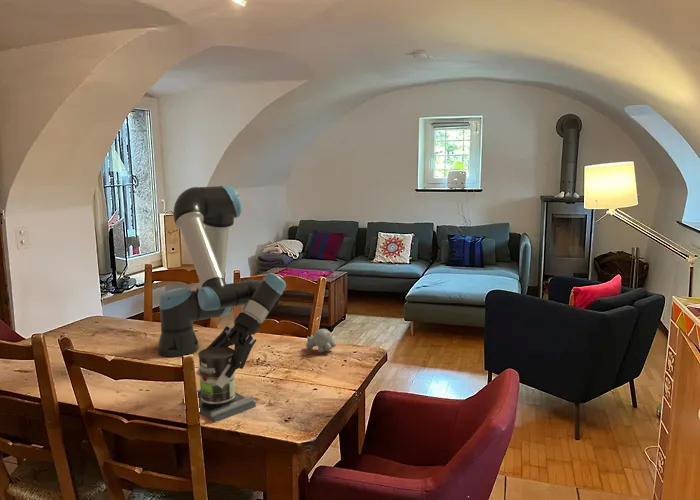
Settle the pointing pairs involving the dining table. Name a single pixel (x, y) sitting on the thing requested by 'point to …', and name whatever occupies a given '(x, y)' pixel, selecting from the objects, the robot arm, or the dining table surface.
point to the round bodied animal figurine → (321, 340)
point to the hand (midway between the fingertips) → (208, 380)
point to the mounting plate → (225, 407)
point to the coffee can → (215, 375)
